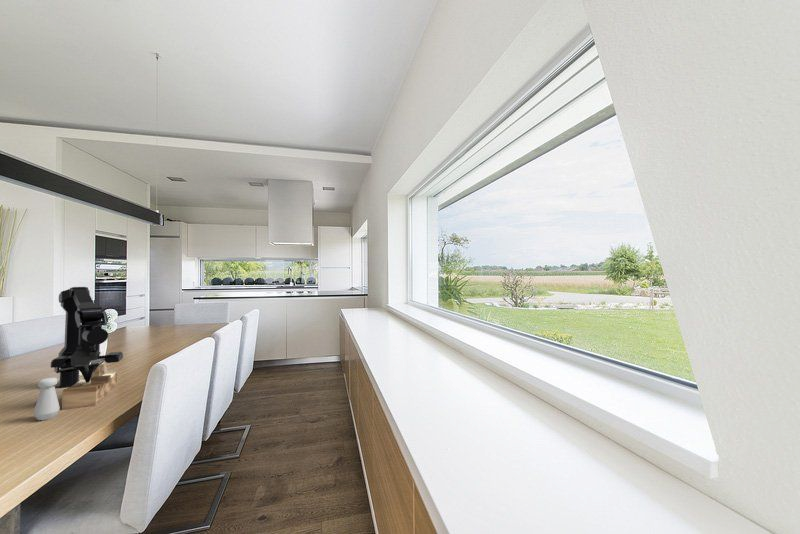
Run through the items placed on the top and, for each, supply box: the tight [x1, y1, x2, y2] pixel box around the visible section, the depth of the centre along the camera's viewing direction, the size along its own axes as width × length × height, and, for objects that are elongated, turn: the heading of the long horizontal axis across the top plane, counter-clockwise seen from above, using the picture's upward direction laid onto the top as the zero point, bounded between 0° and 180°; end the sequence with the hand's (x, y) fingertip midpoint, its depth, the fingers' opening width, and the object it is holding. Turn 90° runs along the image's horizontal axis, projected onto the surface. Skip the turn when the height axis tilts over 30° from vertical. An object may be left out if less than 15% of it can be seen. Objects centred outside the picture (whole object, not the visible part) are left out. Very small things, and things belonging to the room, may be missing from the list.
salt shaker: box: [33, 377, 61, 422], centre depth 106 cm, size 6×6×13 cm
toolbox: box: [61, 372, 118, 411], centre depth 123 cm, size 22×9×7 cm, turn 27°
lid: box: [74, 363, 117, 386], centre depth 126 cm, size 17×9×6 cm, turn 27°
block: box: [91, 375, 111, 385], centre depth 121 cm, size 2×5×2 cm, turn 117°
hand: (88, 382), depth 119 cm, fingers closed
